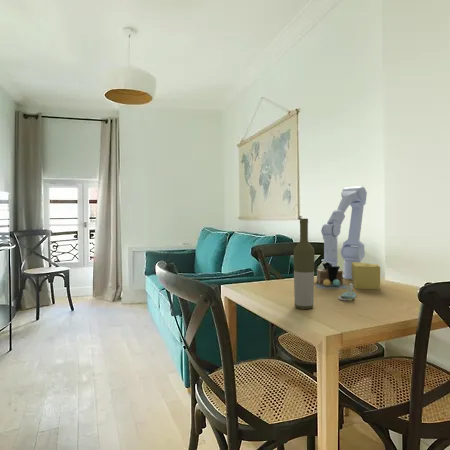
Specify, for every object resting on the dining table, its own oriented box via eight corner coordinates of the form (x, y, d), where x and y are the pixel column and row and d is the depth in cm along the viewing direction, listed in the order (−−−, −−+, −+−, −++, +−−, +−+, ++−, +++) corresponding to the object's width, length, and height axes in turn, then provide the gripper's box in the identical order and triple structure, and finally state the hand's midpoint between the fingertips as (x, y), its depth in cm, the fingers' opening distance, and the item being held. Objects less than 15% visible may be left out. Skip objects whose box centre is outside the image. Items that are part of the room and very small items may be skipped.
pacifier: (336, 301, 126) (354, 302, 123) (336, 284, 126) (353, 285, 123) (339, 296, 133) (356, 297, 130) (339, 280, 132) (356, 281, 130)
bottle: (297, 303, 122) (297, 218, 121) (317, 306, 118) (317, 218, 117) (290, 308, 116) (290, 218, 115) (311, 311, 112) (311, 218, 111)
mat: (314, 284, 153) (314, 284, 153) (344, 285, 152) (344, 284, 152) (318, 289, 144) (318, 288, 144) (350, 289, 143) (350, 288, 143)
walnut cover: (316, 281, 160) (316, 268, 160) (339, 281, 159) (339, 268, 159) (319, 284, 154) (319, 271, 154) (342, 284, 153) (342, 271, 153)
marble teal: (332, 285, 150) (332, 278, 150) (339, 285, 149) (339, 278, 149) (333, 287, 147) (333, 280, 147) (340, 287, 146) (340, 280, 146)
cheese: (376, 285, 151) (376, 262, 151) (381, 290, 141) (381, 266, 141) (351, 284, 154) (351, 262, 154) (353, 289, 144) (354, 265, 143)
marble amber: (322, 285, 150) (322, 278, 150) (329, 285, 150) (329, 278, 150) (324, 287, 147) (324, 279, 147) (331, 287, 147) (331, 280, 147)
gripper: (318, 248, 164) (318, 277, 164) (325, 251, 149) (325, 283, 150) (333, 248, 163) (333, 277, 164) (341, 251, 149) (341, 283, 149)
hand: (330, 280), depth 157 cm, fingers closed on walnut cover, 6 cm apart
